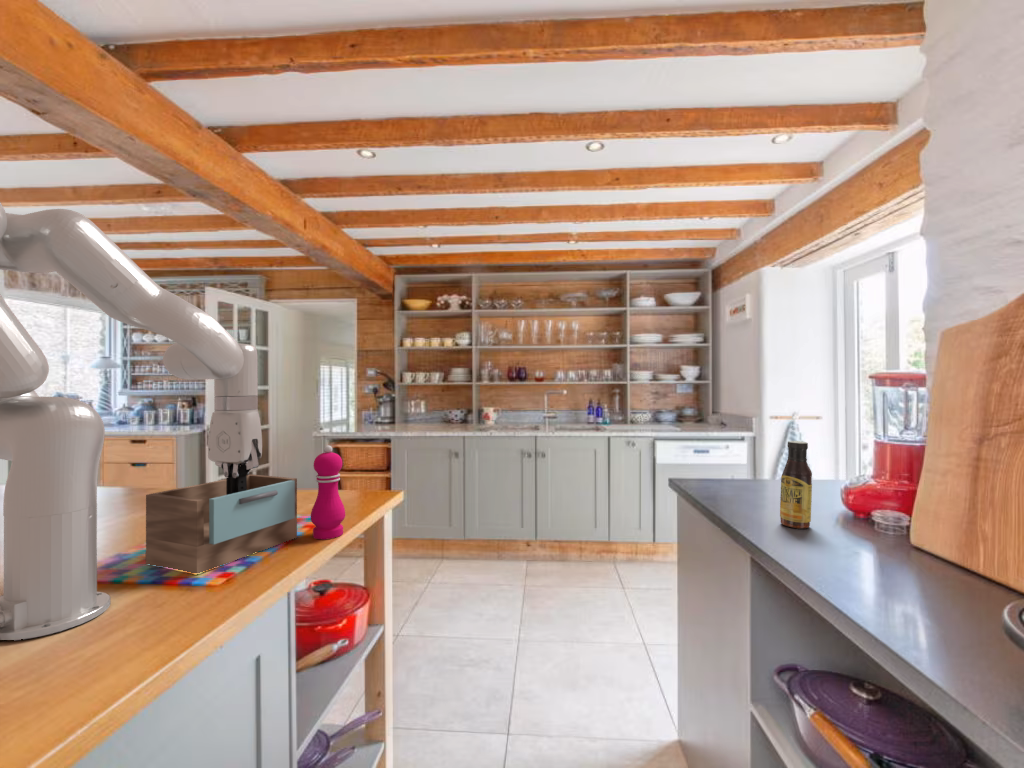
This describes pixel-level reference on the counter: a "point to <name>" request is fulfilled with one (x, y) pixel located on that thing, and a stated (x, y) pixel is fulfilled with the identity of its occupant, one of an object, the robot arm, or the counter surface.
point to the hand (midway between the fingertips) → (236, 496)
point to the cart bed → (204, 528)
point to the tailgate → (250, 510)
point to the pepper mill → (327, 496)
